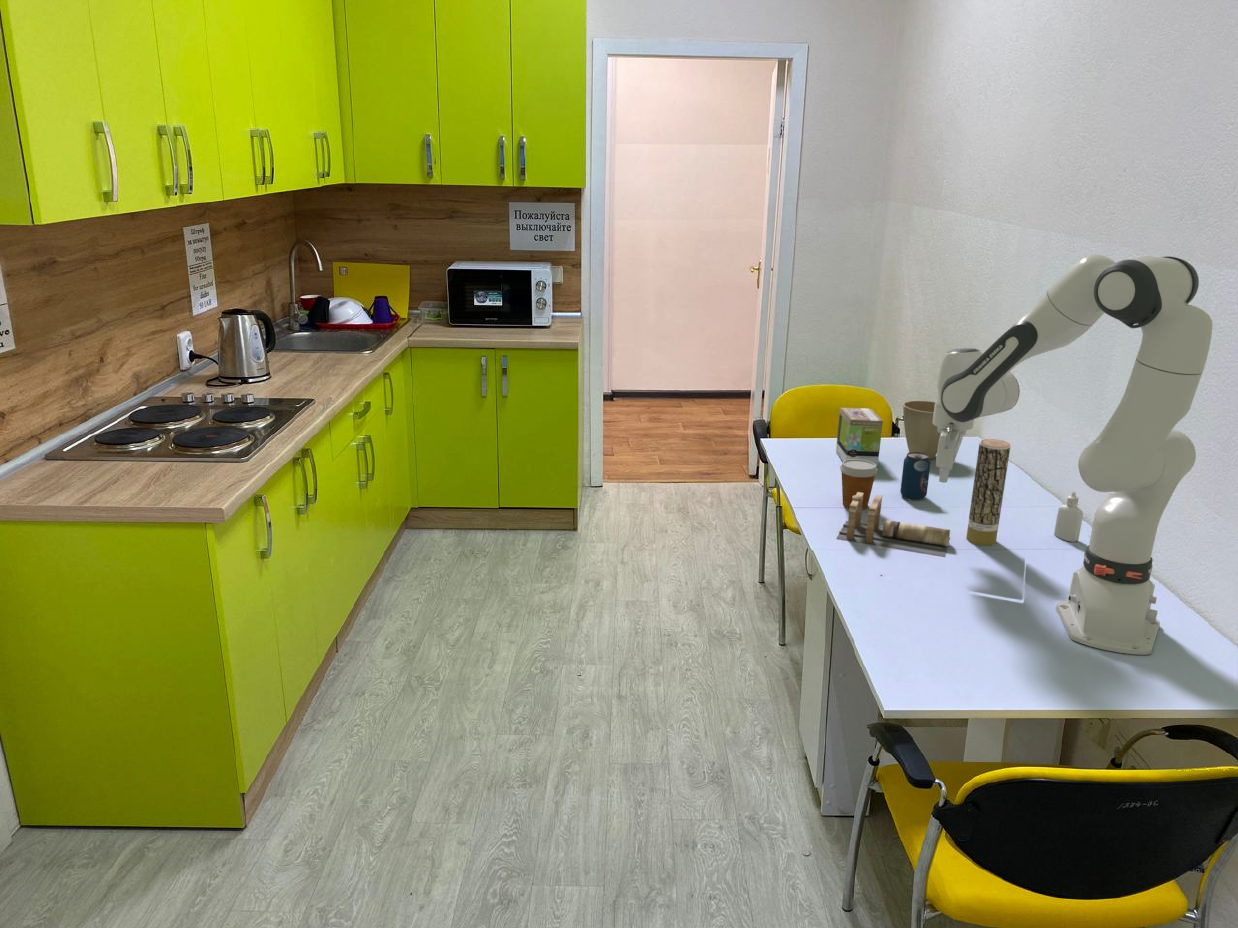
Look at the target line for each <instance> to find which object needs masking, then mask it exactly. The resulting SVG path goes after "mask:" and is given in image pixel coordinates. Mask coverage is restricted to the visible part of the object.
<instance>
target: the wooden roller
mask: <svg viewBox="0 0 1238 928" xmlns="http://www.w3.org/2000/svg"><path fill="white" fill-rule="evenodd" d="M882 527H883V533H882V535H883V536H885V537H892V538H898V539H904V540H910V541H916V542H922V543H929V544H935V545H941V546H947V548H948V546H949V543H948V542H950V540H949V537H950V536H951V529H946V528H941V527H934V526H927V525H921V524H914V523H910V522H902V521H895V520H889V519H884V522H883V526H882Z"/></svg>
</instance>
